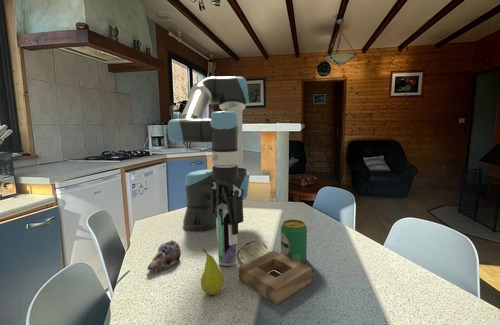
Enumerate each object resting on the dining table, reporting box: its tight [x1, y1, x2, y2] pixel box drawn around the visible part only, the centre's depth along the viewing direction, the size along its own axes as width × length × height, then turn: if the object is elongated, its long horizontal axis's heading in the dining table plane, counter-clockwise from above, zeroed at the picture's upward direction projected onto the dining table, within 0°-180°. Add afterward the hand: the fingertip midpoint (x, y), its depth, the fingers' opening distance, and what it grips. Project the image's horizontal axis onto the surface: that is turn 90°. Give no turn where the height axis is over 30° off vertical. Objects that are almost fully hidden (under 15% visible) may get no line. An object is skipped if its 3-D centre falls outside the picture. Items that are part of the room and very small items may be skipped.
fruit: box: [200, 248, 224, 296], centre depth 68 cm, size 6×6×12 cm
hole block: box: [237, 250, 313, 306], centre depth 74 cm, size 14×14×4 cm
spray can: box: [217, 199, 237, 267], centre depth 82 cm, size 6×6×20 cm
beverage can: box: [280, 218, 308, 264], centre depth 85 cm, size 8×8×12 cm
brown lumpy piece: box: [147, 239, 182, 275], centre depth 83 cm, size 12×8×6 cm, turn 150°
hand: (227, 240), depth 83 cm, fingers closed on spray can, 5 cm apart
